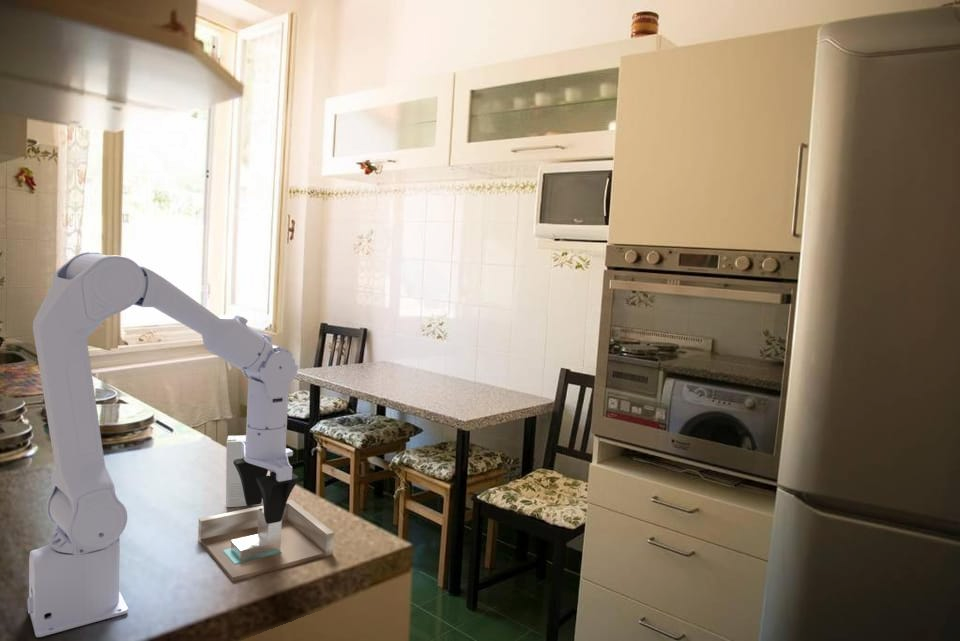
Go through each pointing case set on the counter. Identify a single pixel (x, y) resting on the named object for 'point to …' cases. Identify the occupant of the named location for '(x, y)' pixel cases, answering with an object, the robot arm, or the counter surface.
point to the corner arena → (298, 533)
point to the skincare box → (234, 473)
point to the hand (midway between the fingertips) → (263, 512)
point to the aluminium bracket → (259, 540)
